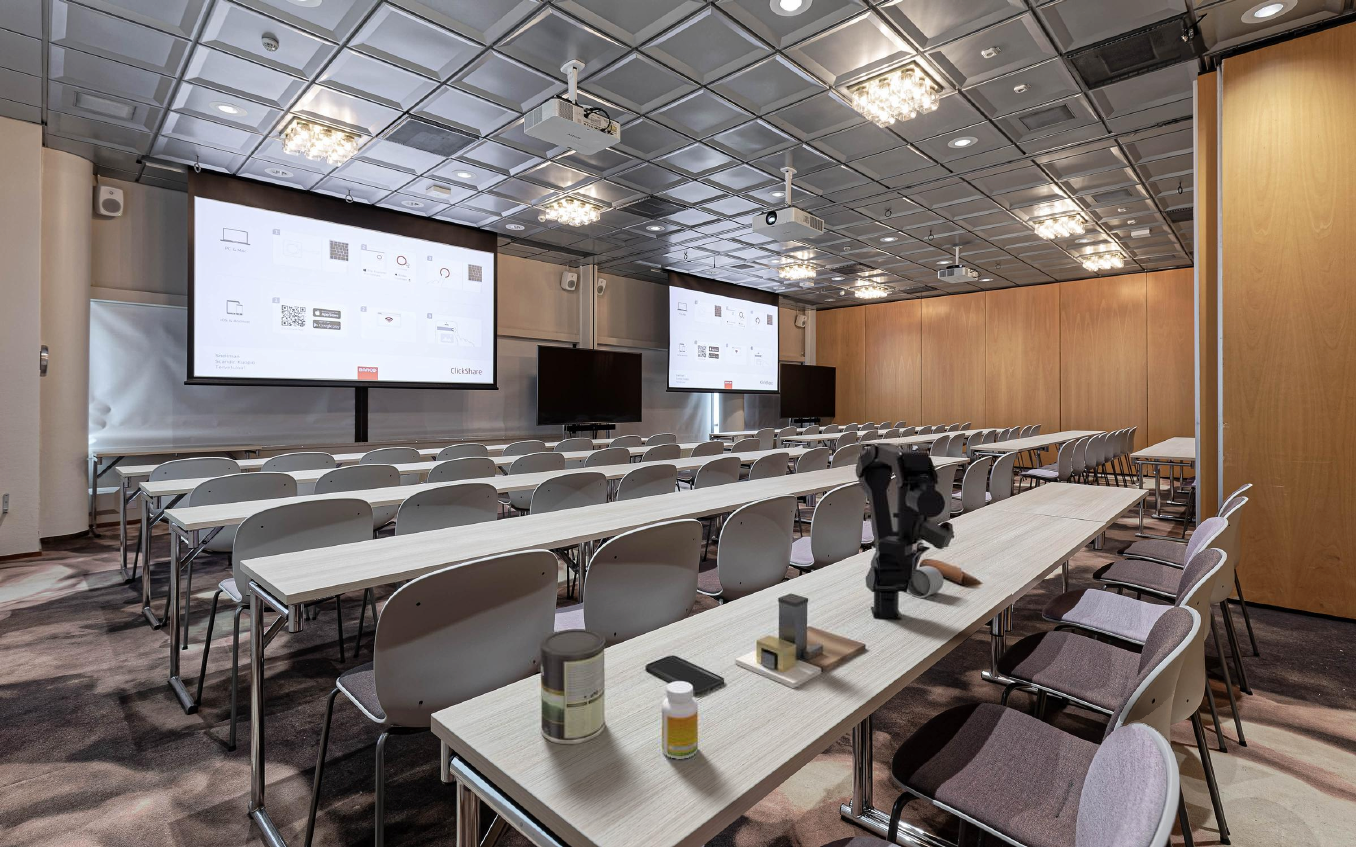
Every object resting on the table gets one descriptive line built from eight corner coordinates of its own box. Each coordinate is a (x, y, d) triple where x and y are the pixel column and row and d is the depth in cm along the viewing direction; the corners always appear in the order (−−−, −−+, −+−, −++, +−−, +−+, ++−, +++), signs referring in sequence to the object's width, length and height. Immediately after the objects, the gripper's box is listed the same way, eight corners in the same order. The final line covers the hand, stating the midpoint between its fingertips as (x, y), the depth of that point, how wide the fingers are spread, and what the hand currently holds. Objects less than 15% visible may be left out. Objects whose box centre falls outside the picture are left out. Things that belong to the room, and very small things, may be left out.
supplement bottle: (705, 752, 92) (705, 688, 91) (675, 765, 89) (675, 699, 88) (683, 736, 96) (683, 675, 96) (654, 747, 93) (654, 684, 93)
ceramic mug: (945, 594, 165) (945, 565, 164) (931, 601, 159) (931, 571, 159) (908, 585, 173) (908, 558, 172) (893, 592, 167) (893, 564, 167)
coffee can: (531, 742, 94) (530, 652, 94) (552, 708, 104) (551, 627, 104) (597, 746, 93) (597, 655, 93) (611, 712, 103) (611, 629, 103)
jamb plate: (763, 651, 128) (763, 646, 128) (820, 673, 118) (820, 668, 118) (735, 663, 122) (735, 658, 122) (793, 688, 112) (793, 682, 112)
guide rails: (793, 643, 130) (793, 634, 129) (823, 653, 124) (823, 644, 124) (779, 650, 126) (779, 641, 126) (808, 661, 121) (808, 652, 121)
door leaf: (809, 630, 139) (809, 625, 139) (865, 648, 129) (865, 644, 129) (765, 650, 128) (765, 645, 128) (822, 672, 118) (822, 667, 118)
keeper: (769, 656, 123) (769, 634, 123) (795, 666, 119) (795, 644, 118) (756, 662, 120) (756, 640, 120) (782, 672, 116) (783, 650, 116)
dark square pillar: (790, 648, 126) (790, 593, 126) (807, 654, 123) (808, 598, 123) (759, 663, 119) (759, 604, 119) (776, 670, 116) (777, 610, 116)
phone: (672, 654, 125) (726, 679, 114) (672, 659, 125) (726, 685, 114) (642, 665, 119) (696, 693, 108) (642, 671, 120) (696, 699, 108)
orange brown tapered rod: (986, 583, 174) (977, 564, 173) (968, 598, 172) (959, 579, 171) (941, 566, 191) (932, 549, 190) (924, 580, 189) (915, 562, 188)
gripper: (928, 519, 122) (926, 597, 122) (966, 508, 134) (964, 578, 135) (876, 512, 130) (875, 585, 130) (916, 501, 143) (915, 568, 143)
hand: (909, 579), depth 135 cm, fingers closed
